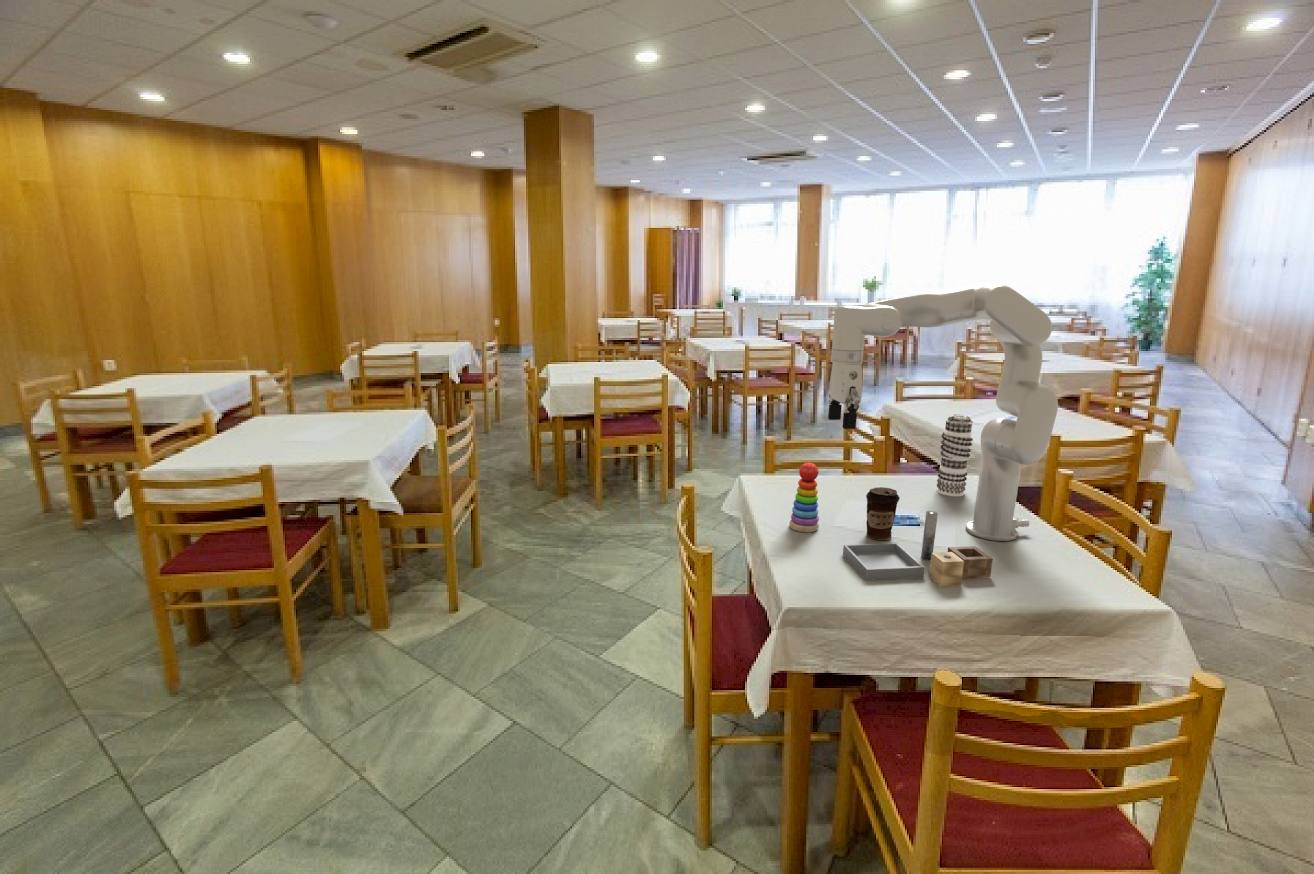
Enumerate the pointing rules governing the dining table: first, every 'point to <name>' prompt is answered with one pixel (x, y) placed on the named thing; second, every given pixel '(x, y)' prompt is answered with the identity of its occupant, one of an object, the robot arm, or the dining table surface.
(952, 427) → the decorative candle
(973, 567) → the go block
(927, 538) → the cylinder
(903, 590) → the dining table surface
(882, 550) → the tray
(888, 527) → the coffee cup
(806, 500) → the stacking toy
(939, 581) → the oak block
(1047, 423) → the robot arm
